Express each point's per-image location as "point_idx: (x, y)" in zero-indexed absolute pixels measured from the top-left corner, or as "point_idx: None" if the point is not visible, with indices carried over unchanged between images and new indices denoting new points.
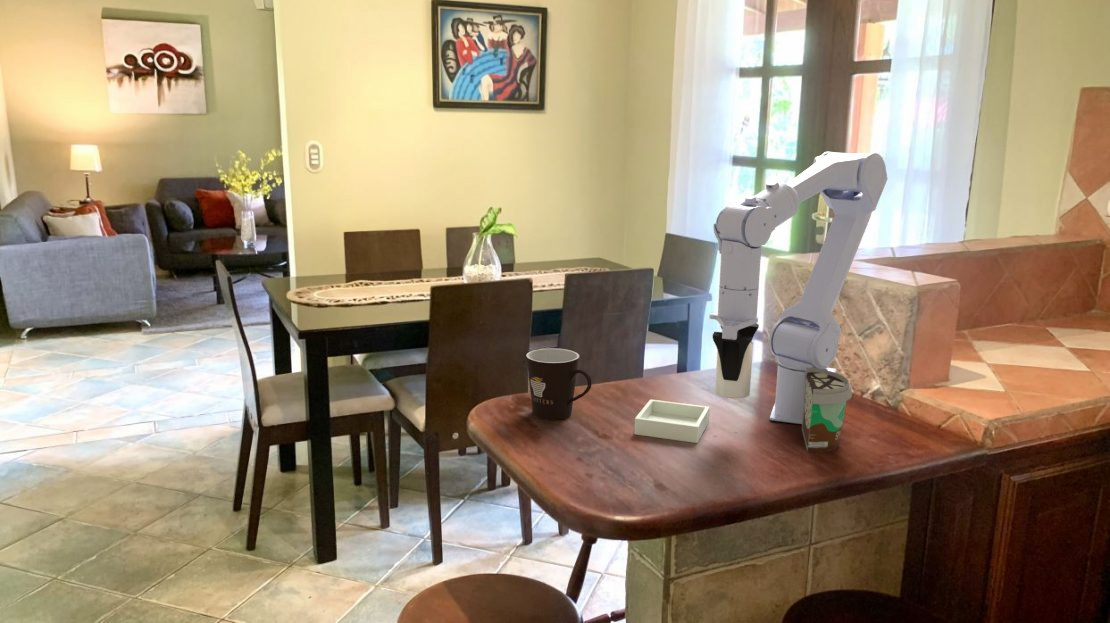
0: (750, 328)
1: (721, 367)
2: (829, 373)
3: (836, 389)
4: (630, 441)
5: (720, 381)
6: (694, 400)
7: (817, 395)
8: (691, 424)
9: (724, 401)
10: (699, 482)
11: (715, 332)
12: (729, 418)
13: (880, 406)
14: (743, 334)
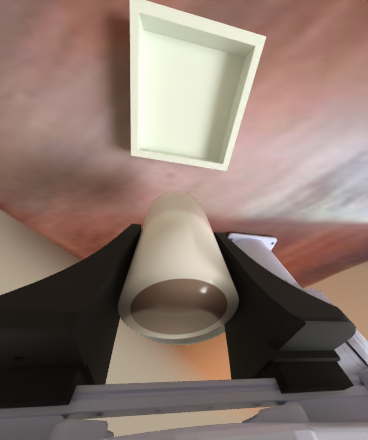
0: (240, 376)
1: (118, 235)
2: (219, 330)
3: (148, 337)
4: (98, 14)
5: (150, 212)
6: (311, 141)
7: None
8: (193, 141)
9: (300, 184)
10: (6, 159)
11: (46, 337)
12: (236, 191)
13: None
14: (238, 337)
